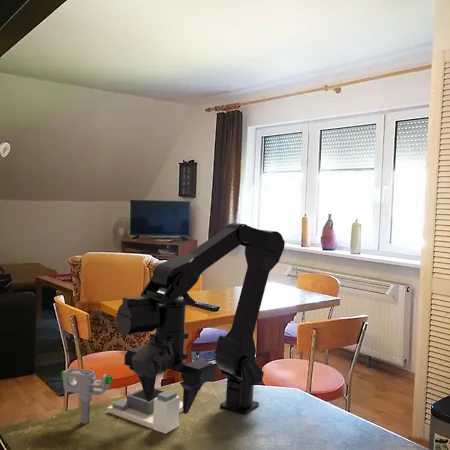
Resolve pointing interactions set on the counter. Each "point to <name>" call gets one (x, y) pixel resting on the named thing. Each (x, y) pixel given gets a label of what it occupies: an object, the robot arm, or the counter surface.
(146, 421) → the board
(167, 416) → the plug
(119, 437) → the counter surface
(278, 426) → the counter surface
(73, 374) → the mechanical component
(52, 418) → the counter surface
